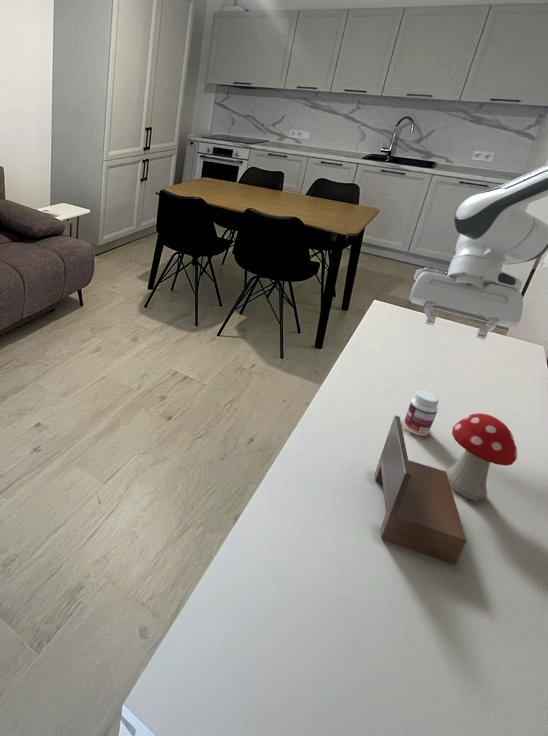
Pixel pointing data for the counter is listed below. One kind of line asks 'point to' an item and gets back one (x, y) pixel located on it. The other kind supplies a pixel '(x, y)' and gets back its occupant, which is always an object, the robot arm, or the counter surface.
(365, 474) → the counter surface
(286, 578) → the counter surface
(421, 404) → the pill bottle
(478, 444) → the decorative mushroom
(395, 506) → the wooden display stand
